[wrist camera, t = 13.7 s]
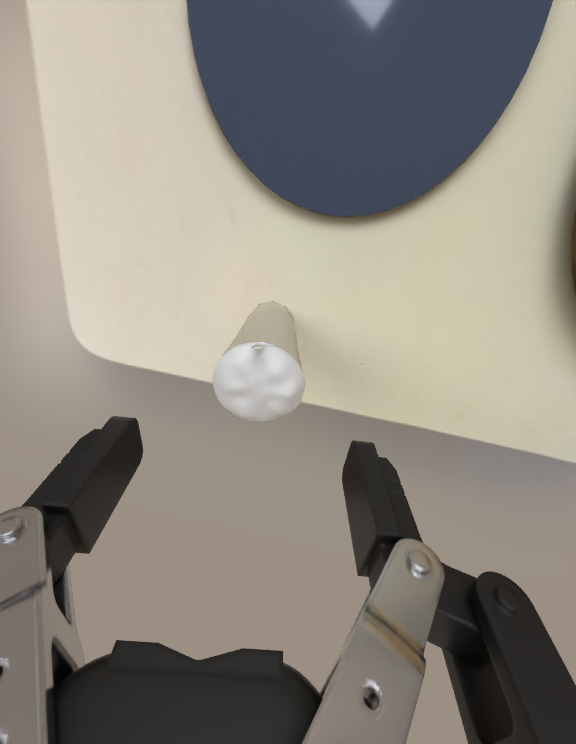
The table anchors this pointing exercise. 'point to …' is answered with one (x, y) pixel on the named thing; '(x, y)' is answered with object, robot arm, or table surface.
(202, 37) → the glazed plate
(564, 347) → the table surface
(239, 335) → the milkshake
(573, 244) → the wooden plate
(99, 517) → the robot arm
